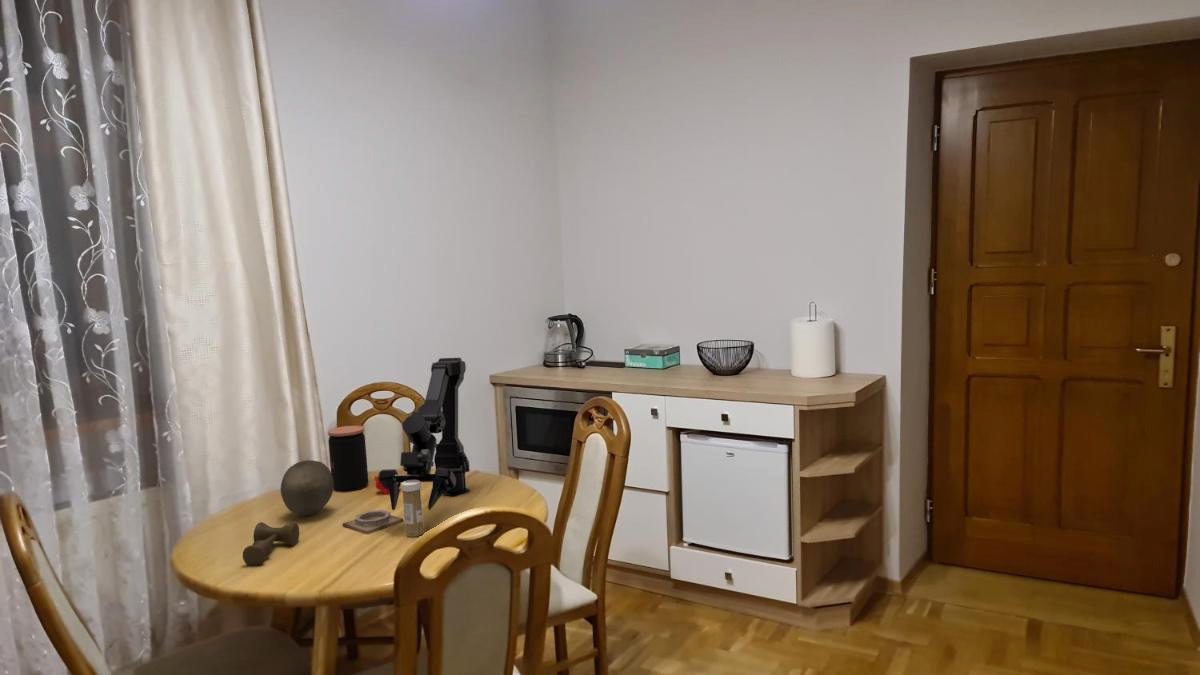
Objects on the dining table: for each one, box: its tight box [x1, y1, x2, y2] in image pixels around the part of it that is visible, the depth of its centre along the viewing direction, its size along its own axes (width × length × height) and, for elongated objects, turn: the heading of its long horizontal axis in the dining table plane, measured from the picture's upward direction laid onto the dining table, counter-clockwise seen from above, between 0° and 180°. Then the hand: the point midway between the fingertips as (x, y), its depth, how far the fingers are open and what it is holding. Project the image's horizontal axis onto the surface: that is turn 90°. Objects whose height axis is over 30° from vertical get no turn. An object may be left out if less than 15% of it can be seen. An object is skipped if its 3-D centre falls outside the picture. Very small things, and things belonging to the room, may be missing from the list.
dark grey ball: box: [280, 459, 334, 517], centre depth 217 cm, size 14×14×15 cm
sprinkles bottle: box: [401, 480, 425, 538], centre depth 197 cm, size 5×5×13 cm
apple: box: [374, 474, 402, 495], centre depth 236 cm, size 7×7×8 cm
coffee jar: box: [327, 425, 369, 493], centre depth 242 cm, size 11×11×18 cm
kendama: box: [242, 521, 300, 567], centre depth 191 cm, size 6×10×20 cm
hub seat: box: [342, 510, 405, 535], centre depth 207 cm, size 11×11×2 cm
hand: (411, 509), depth 196 cm, fingers open, 9 cm apart
